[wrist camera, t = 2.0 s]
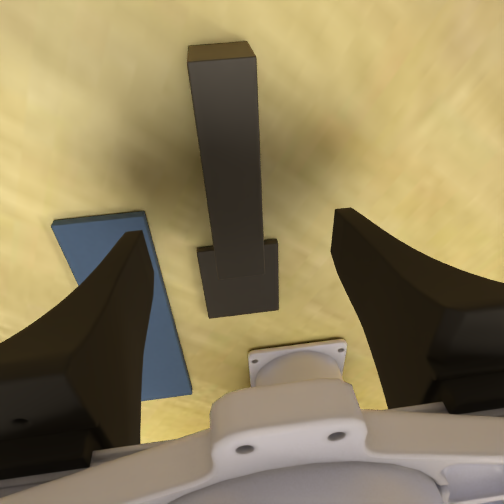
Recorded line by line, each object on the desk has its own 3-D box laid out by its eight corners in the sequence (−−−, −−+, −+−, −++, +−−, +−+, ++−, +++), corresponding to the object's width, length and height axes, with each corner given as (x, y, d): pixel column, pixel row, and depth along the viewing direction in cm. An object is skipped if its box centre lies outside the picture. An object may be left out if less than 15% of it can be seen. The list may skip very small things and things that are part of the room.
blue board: (192, 388, 32) (192, 394, 32) (133, 396, 32) (132, 402, 32) (144, 210, 21) (143, 216, 21) (53, 220, 21) (50, 225, 20)
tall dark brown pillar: (277, 305, 27) (286, 340, 25) (208, 313, 27) (209, 350, 24) (274, 38, 17) (288, 53, 14) (160, 47, 16) (153, 64, 14)
